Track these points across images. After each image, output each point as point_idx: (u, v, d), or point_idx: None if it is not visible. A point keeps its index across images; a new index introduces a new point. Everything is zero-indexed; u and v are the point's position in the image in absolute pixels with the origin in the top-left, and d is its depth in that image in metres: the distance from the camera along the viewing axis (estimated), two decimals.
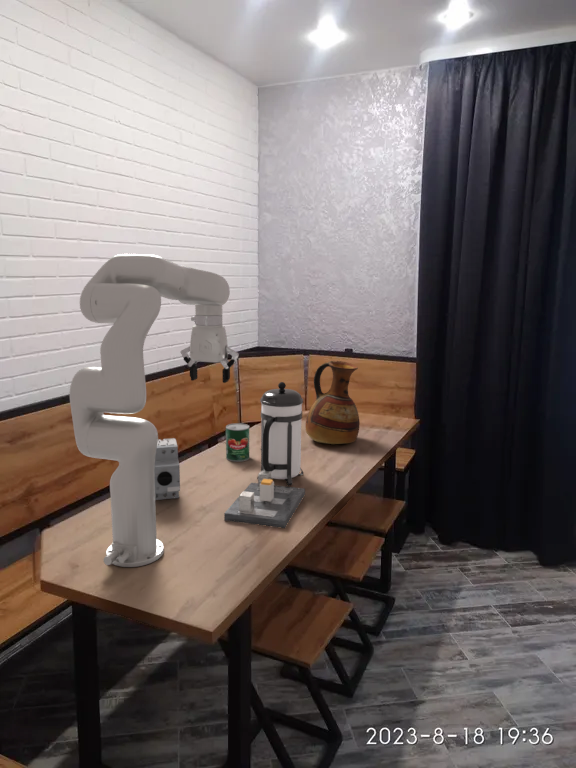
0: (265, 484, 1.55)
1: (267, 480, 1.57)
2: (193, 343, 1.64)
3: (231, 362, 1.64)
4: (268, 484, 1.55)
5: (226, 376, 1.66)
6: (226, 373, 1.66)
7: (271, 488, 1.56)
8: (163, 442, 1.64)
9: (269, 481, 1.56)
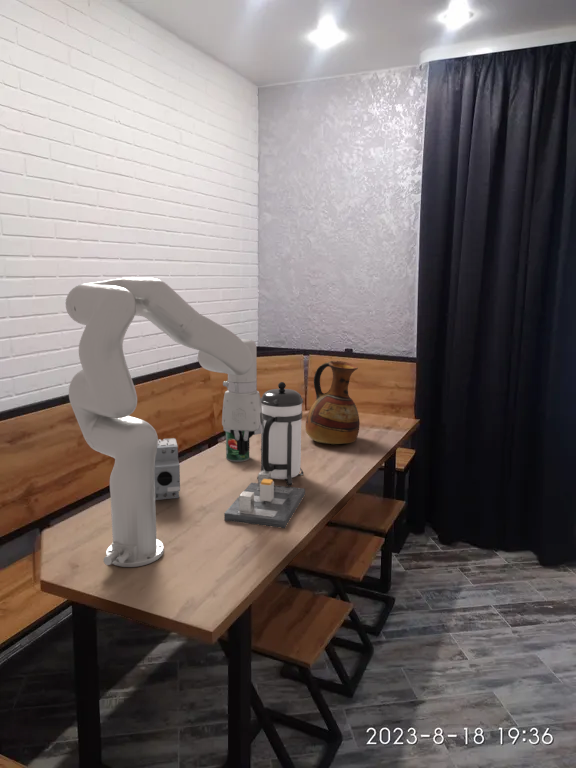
0: (265, 484, 1.55)
1: (267, 480, 1.57)
2: (226, 410, 1.53)
3: (251, 434, 1.55)
4: (268, 484, 1.55)
5: (245, 448, 1.56)
6: (245, 445, 1.56)
7: (271, 488, 1.56)
8: (163, 442, 1.64)
9: (269, 481, 1.56)
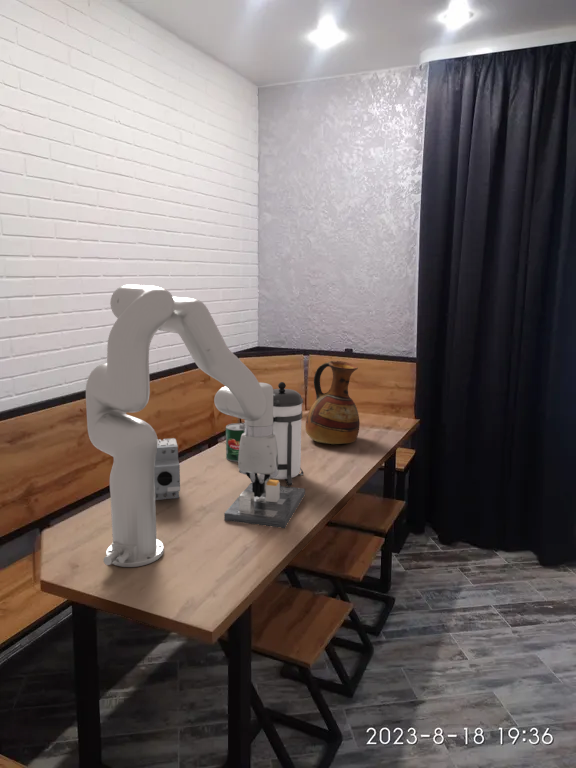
0: (271, 485, 1.55)
1: (273, 481, 1.57)
2: (242, 453, 1.54)
3: (266, 476, 1.55)
4: (274, 485, 1.55)
5: (261, 490, 1.57)
6: (261, 487, 1.57)
7: (277, 489, 1.56)
8: (163, 442, 1.64)
9: (275, 482, 1.56)
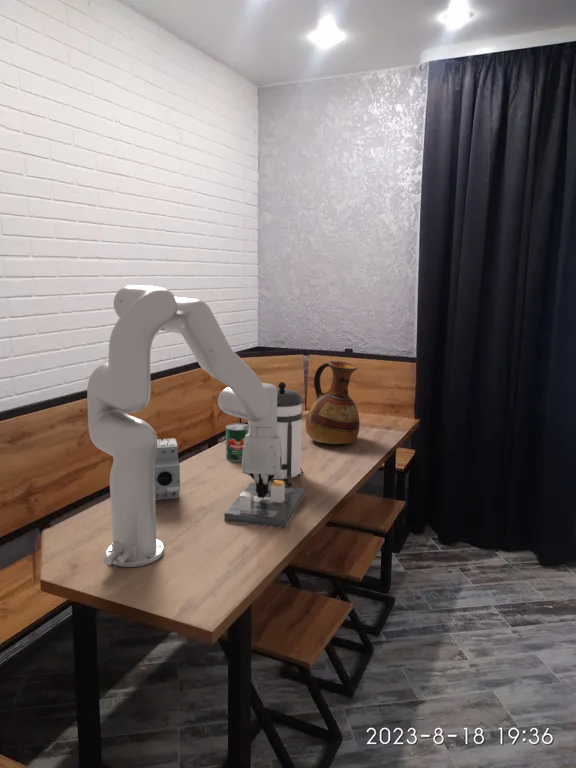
0: (276, 485, 1.55)
1: (278, 481, 1.56)
2: (246, 454, 1.54)
3: (270, 477, 1.55)
4: (279, 485, 1.54)
5: (265, 491, 1.56)
6: (265, 488, 1.56)
7: (282, 489, 1.55)
8: (163, 442, 1.64)
9: (280, 482, 1.56)
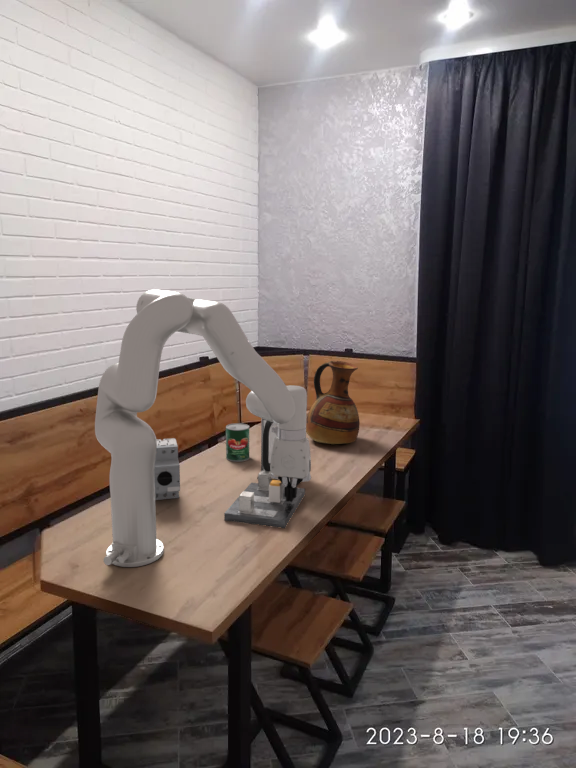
0: (274, 485, 1.55)
1: (276, 481, 1.56)
2: (274, 457, 1.52)
3: (299, 480, 1.53)
4: (277, 485, 1.55)
5: (293, 495, 1.54)
6: (293, 491, 1.54)
7: (280, 489, 1.55)
8: (163, 442, 1.64)
9: (278, 482, 1.56)
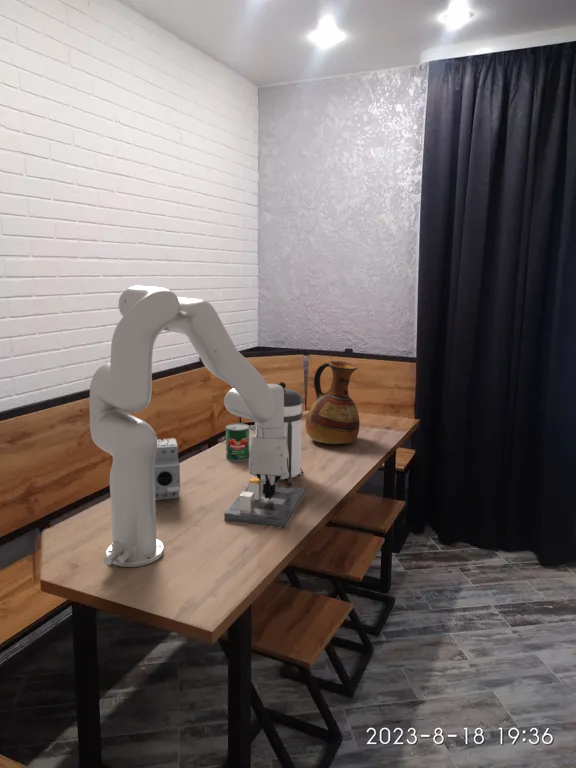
0: (253, 483, 1.56)
1: (255, 479, 1.58)
2: (252, 455, 1.53)
3: (277, 478, 1.55)
4: (256, 483, 1.56)
5: (271, 492, 1.56)
6: (271, 489, 1.56)
7: (259, 487, 1.57)
8: (163, 442, 1.64)
9: (257, 480, 1.57)
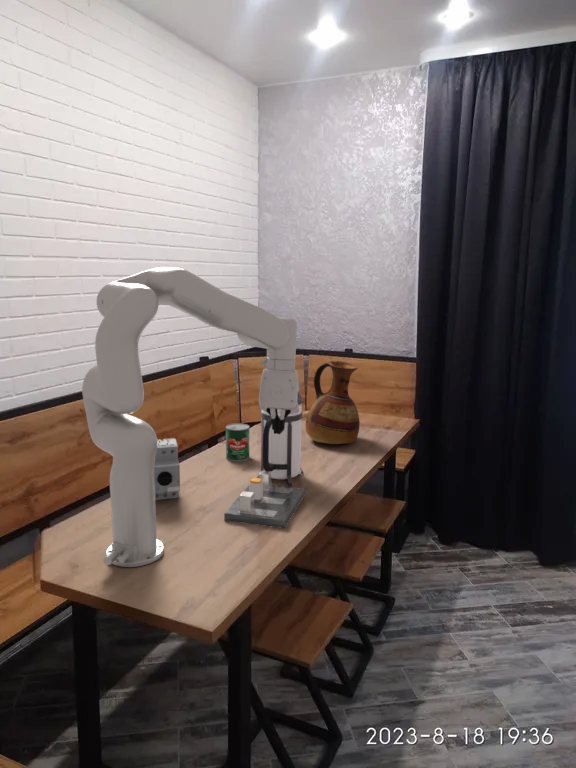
0: (254, 483, 1.56)
1: (256, 479, 1.58)
2: (263, 388, 1.52)
3: (287, 413, 1.54)
4: (257, 483, 1.56)
5: (281, 427, 1.55)
6: (281, 424, 1.55)
7: (260, 487, 1.57)
8: (163, 442, 1.64)
9: (258, 480, 1.57)
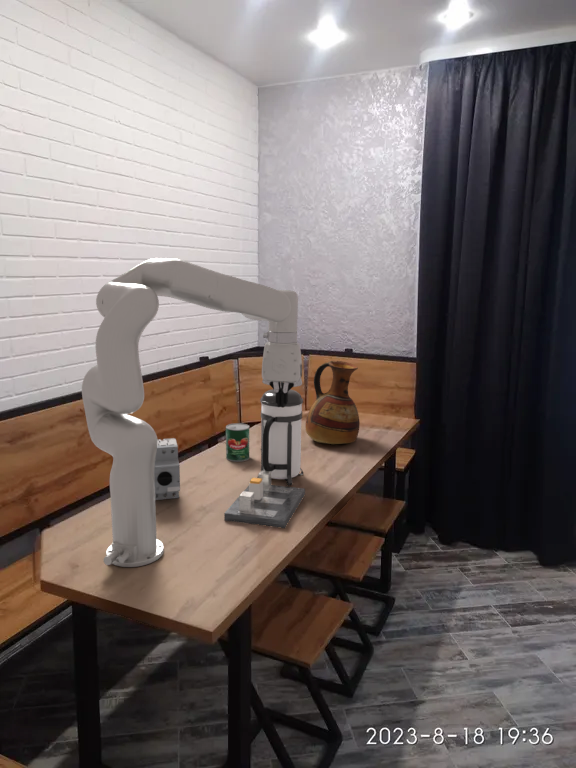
0: (254, 483, 1.56)
1: (256, 479, 1.58)
2: (266, 362, 1.53)
3: (290, 386, 1.54)
4: (257, 483, 1.56)
5: (284, 400, 1.55)
6: (284, 397, 1.55)
7: (260, 487, 1.57)
8: (163, 442, 1.64)
9: (258, 480, 1.57)
